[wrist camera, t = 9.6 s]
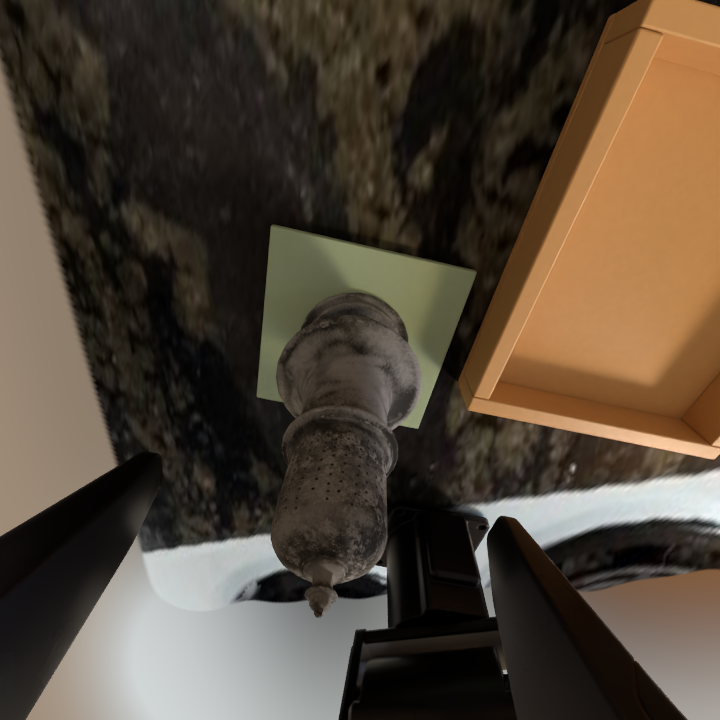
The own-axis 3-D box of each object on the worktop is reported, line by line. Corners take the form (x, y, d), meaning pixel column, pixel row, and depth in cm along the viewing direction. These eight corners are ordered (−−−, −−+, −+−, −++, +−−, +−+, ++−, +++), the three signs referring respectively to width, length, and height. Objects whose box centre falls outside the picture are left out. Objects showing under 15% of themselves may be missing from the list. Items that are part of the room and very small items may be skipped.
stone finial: (278, 296, 17) (113, 535, 6) (407, 275, 16) (460, 506, 6) (310, 400, 20) (231, 684, 9) (420, 386, 19) (472, 678, 8)
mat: (417, 424, 21) (417, 429, 20) (258, 393, 20) (256, 397, 20) (475, 269, 16) (477, 272, 16) (273, 223, 16) (270, 225, 15)
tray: (679, 428, 20) (714, 460, 18) (456, 382, 19) (466, 410, 17) (947, 111, 13) (1060, 102, 11) (608, 16, 12) (657, -13, 10)
